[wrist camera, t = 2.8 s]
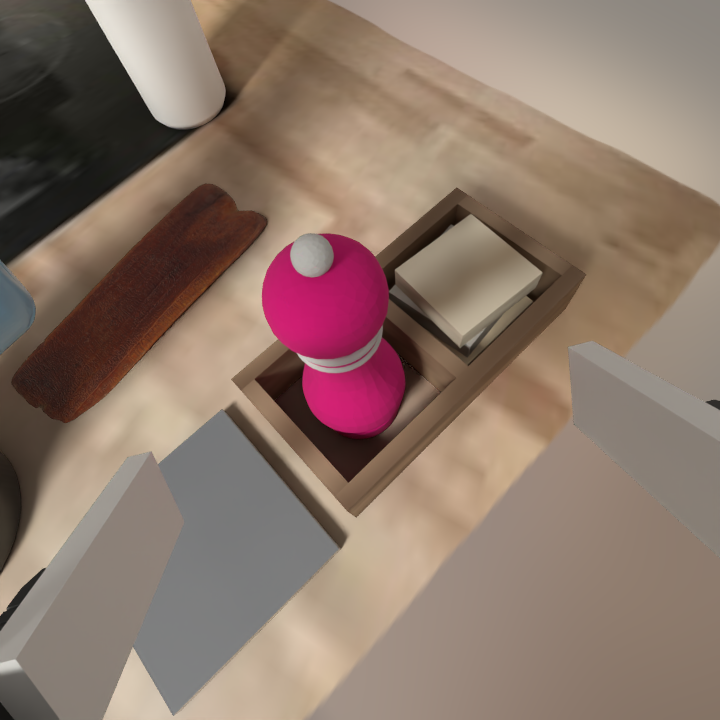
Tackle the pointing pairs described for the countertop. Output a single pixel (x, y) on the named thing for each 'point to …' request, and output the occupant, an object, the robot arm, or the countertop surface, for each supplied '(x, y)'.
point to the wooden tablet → (136, 303)
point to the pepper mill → (336, 331)
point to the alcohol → (164, 58)
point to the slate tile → (224, 559)
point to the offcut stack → (465, 287)
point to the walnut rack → (418, 353)
